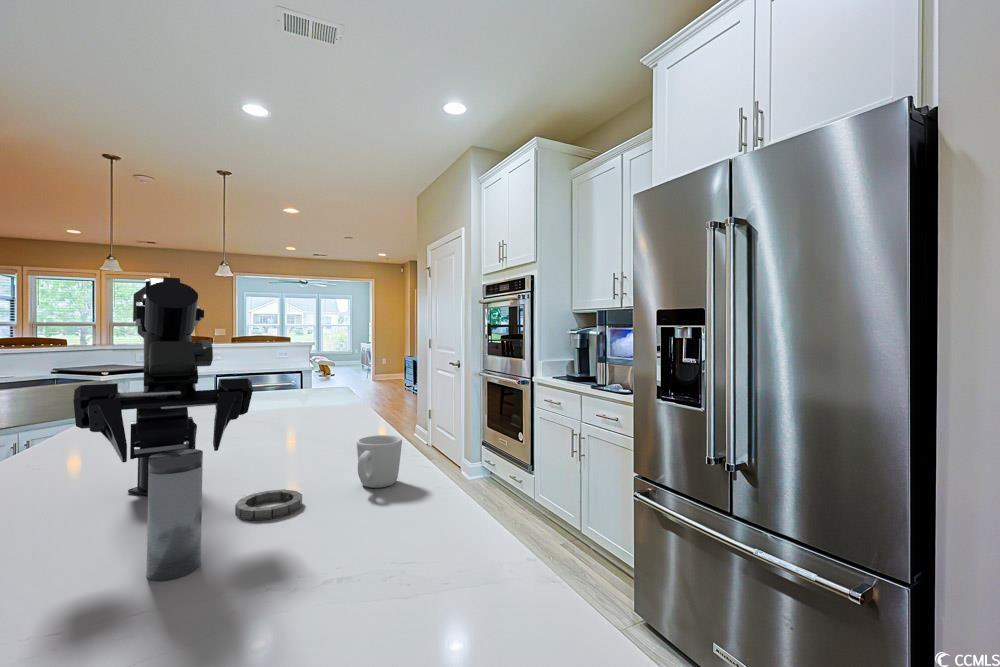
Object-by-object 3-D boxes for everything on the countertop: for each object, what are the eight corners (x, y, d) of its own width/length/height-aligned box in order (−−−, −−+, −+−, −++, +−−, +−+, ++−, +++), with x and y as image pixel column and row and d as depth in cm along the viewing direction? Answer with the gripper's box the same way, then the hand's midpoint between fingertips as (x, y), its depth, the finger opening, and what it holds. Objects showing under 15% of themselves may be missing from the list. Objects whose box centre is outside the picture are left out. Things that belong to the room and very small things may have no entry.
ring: (221, 516, 66) (221, 506, 66) (267, 496, 75) (267, 487, 75) (272, 523, 64) (273, 513, 64) (313, 501, 73) (313, 492, 73)
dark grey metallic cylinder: (134, 577, 50) (137, 458, 50) (177, 556, 55) (179, 447, 55) (170, 584, 48) (172, 462, 49) (211, 561, 53) (213, 451, 53)
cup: (382, 498, 75) (383, 450, 75) (338, 494, 76) (339, 447, 76) (408, 478, 85) (409, 436, 85) (369, 475, 87) (369, 433, 87)
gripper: (76, 317, 54) (63, 423, 46) (251, 322, 66) (267, 407, 57) (81, 378, 60) (70, 482, 52) (240, 372, 72) (253, 456, 63)
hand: (173, 454), depth 56 cm, fingers open, 9 cm apart
